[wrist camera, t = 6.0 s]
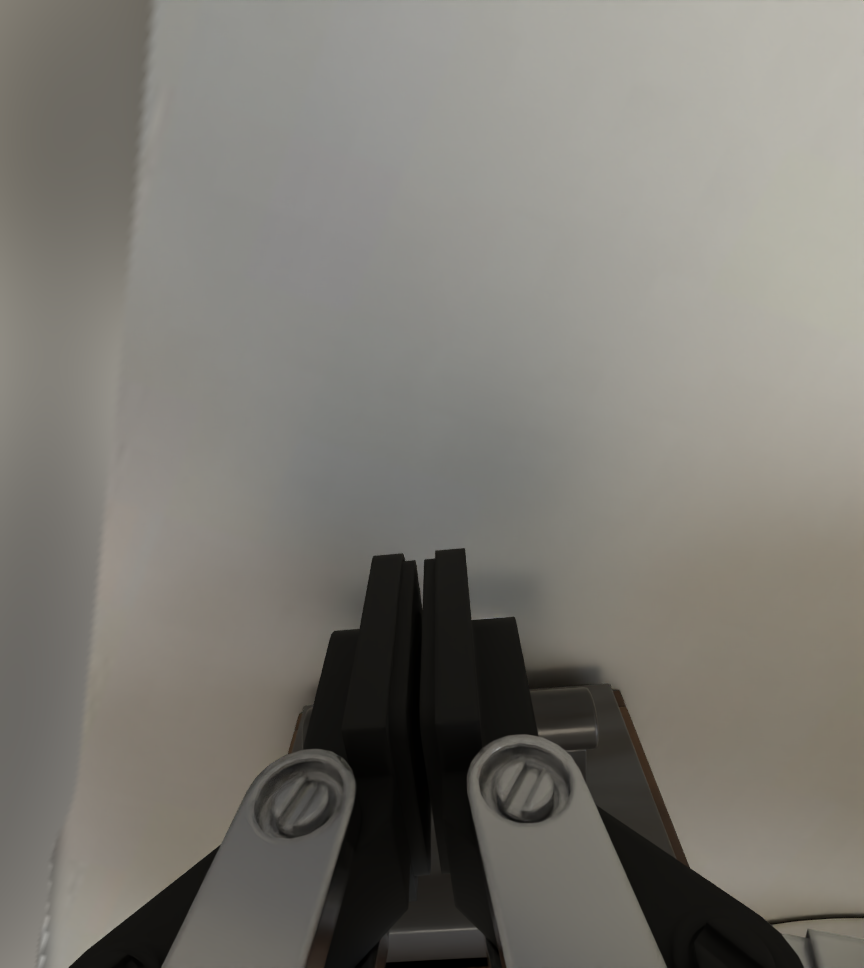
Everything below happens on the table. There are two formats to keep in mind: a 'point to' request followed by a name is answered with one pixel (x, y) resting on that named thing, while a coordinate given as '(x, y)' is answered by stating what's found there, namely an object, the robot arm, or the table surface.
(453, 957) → the drawer
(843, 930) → the round white tray
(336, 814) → the robot arm
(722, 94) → the table surface
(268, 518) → the table surface
